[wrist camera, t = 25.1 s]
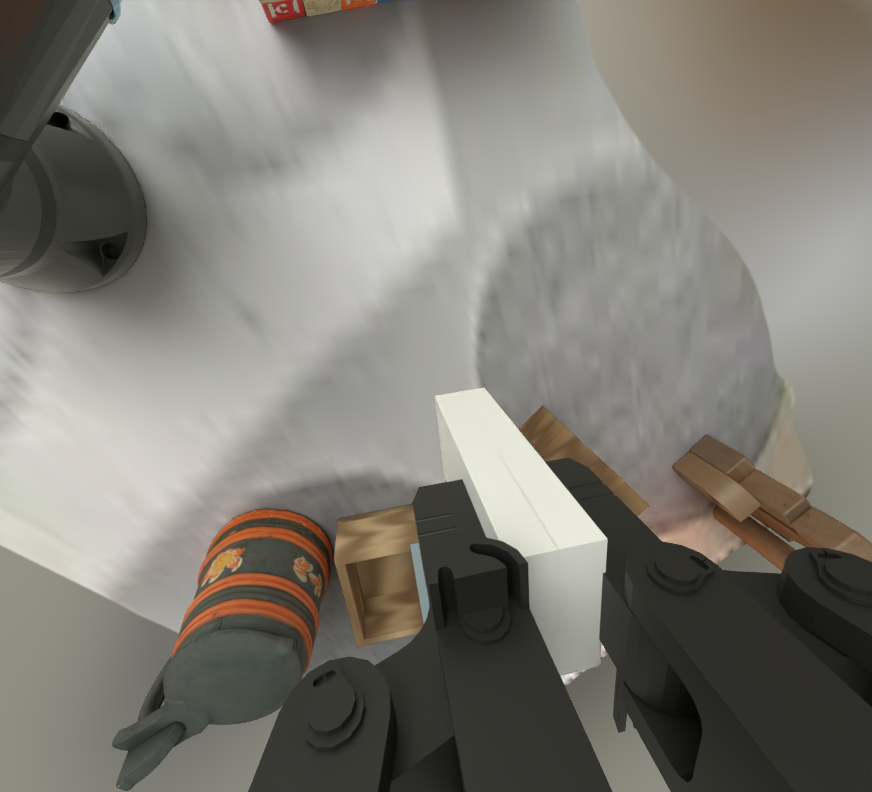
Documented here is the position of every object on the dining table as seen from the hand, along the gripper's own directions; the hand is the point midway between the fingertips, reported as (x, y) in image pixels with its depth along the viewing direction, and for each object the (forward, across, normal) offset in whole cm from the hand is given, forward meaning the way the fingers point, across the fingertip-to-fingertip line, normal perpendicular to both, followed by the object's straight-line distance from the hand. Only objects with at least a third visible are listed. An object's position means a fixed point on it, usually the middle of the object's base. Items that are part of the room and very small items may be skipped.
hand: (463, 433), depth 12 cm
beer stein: (+33, -22, -31) cm, 50 cm away
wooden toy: (+33, +42, -32) cm, 62 cm away
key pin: (+32, +16, -18) cm, 40 cm away
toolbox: (+32, -2, -33) cm, 46 cm away
